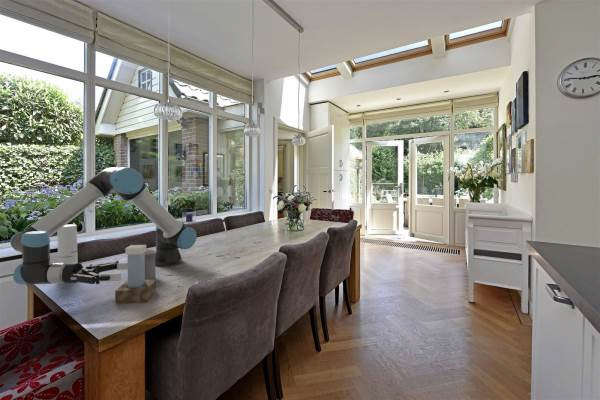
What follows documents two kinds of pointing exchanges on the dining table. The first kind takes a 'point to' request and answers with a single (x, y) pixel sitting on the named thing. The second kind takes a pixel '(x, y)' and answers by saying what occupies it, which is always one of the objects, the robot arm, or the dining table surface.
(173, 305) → the dining table surface
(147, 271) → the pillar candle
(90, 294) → the dining table surface
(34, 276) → the robot arm
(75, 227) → the cylindrical container
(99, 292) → the dining table surface
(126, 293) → the socket block
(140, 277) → the plug
